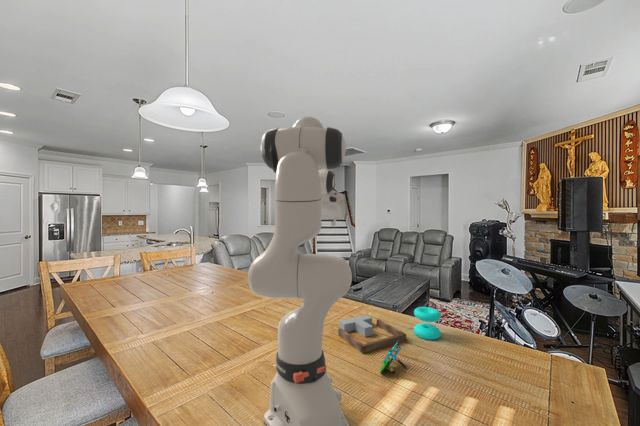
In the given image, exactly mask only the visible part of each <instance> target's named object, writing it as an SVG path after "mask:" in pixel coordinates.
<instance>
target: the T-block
mask: <svg viewBox="0 0 640 426" xmlns="http://www.w3.org/2000/svg"><path fill="white" fill-rule="evenodd" d="M338 323H339V324H338V326H339V327H338V329H340V328H341V329H343V330H344V331H346V332H347V333H349V332H354V331H355V332H356V333H358V334H359V335H361V336H362V337H364V338H366V337H367V338H368V337H371V336H374V326H373V318H372V316H369V315H367V314H365V315H360V316H356V317H352V318H348V319H342V320H338Z"/></svg>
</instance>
